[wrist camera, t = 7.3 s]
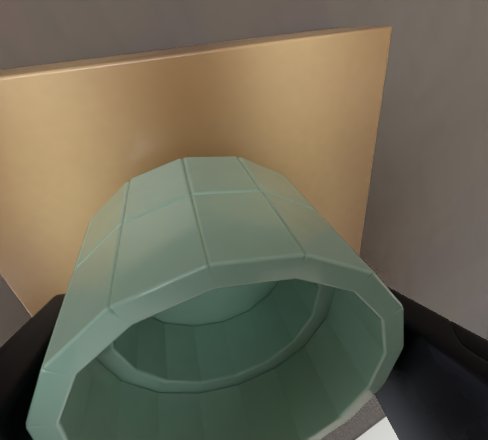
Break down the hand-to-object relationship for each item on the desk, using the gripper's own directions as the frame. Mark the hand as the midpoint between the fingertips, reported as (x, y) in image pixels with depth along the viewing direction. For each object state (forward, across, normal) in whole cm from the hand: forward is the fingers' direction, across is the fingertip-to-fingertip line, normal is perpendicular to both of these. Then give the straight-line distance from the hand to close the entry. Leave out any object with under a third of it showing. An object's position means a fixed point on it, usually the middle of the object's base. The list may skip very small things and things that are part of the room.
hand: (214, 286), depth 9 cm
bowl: (+2, 0, 0) cm, 2 cm away
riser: (+4, 0, 0) cm, 5 cm away
